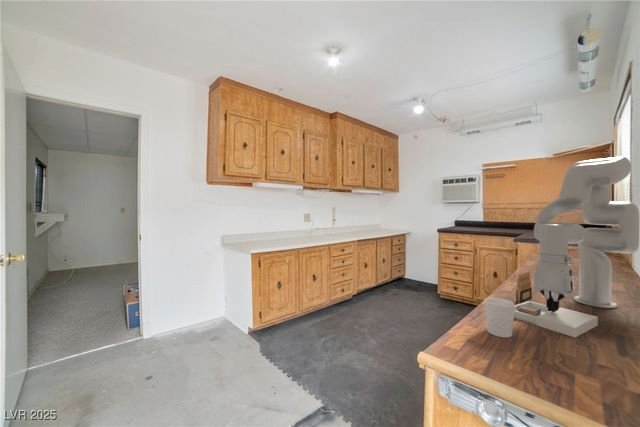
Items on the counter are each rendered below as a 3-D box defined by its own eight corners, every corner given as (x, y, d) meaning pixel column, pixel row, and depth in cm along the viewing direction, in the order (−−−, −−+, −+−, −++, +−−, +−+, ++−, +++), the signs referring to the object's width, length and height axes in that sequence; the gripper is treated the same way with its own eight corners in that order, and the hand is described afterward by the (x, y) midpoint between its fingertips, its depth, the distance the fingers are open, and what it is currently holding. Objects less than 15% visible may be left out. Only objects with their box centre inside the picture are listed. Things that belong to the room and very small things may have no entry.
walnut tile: (540, 309, 100) (540, 314, 100) (525, 304, 104) (525, 310, 104) (534, 311, 97) (534, 316, 97) (518, 307, 102) (518, 312, 102)
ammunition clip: (520, 303, 113) (521, 275, 113) (515, 302, 115) (516, 274, 114) (531, 299, 119) (532, 271, 119) (526, 297, 120) (527, 271, 120)
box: (528, 307, 109) (528, 300, 109) (559, 315, 100) (559, 308, 100) (505, 315, 101) (505, 308, 100) (536, 324, 92) (536, 317, 92)
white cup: (509, 329, 88) (509, 299, 88) (518, 340, 81) (518, 307, 81) (482, 326, 91) (482, 296, 91) (488, 336, 84) (488, 304, 83)
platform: (560, 315, 100) (560, 307, 100) (597, 325, 91) (597, 316, 91) (536, 325, 91) (536, 316, 91) (575, 337, 83) (575, 327, 83)
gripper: (586, 261, 90) (585, 316, 90) (533, 255, 103) (532, 302, 103) (576, 263, 86) (576, 320, 86) (523, 256, 99) (523, 306, 100)
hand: (552, 310), depth 95 cm, fingers closed
